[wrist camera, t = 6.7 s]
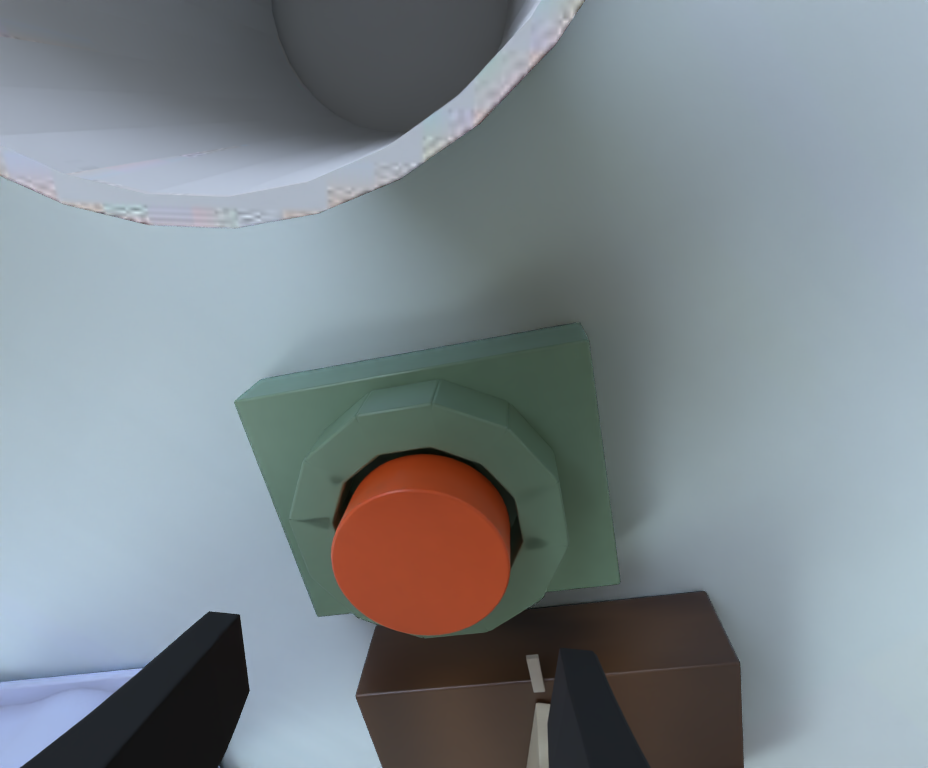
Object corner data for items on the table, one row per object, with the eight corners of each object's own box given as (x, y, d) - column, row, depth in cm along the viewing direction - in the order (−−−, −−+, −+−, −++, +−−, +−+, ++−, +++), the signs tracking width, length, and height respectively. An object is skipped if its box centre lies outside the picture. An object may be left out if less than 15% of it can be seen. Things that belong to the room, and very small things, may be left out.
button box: (333, 579, 19) (298, 661, 16) (259, 378, 17) (200, 427, 13) (610, 547, 18) (633, 628, 15) (580, 321, 15) (599, 360, 12)
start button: (373, 595, 16) (357, 644, 14) (329, 465, 14) (306, 503, 12) (522, 578, 15) (524, 627, 13) (493, 441, 13) (491, 477, 12)
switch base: (437, 805, 24) (427, 894, 21) (367, 601, 20) (343, 676, 17) (718, 790, 22) (750, 885, 19) (704, 564, 18) (742, 639, 15)
